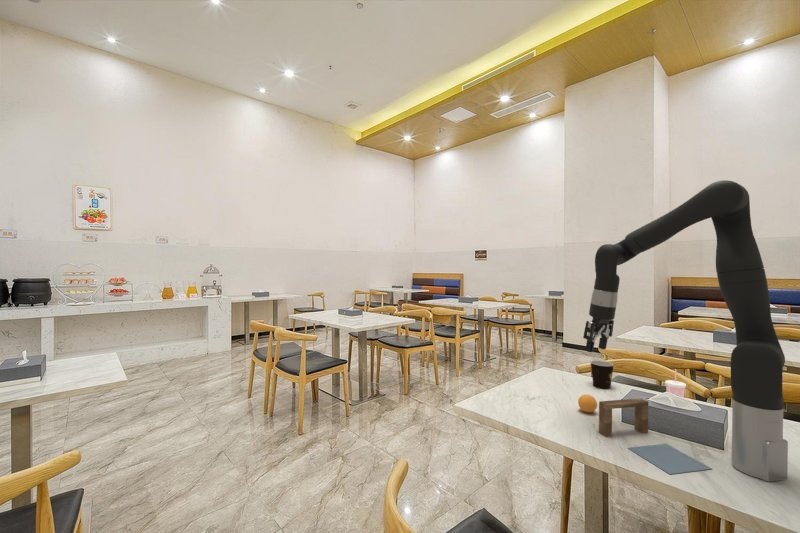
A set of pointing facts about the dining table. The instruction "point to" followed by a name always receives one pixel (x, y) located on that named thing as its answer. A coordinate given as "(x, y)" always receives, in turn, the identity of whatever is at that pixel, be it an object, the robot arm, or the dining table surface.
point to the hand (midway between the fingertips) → (595, 350)
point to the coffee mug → (602, 374)
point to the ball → (587, 403)
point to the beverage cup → (675, 386)
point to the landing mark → (669, 459)
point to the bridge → (607, 407)
